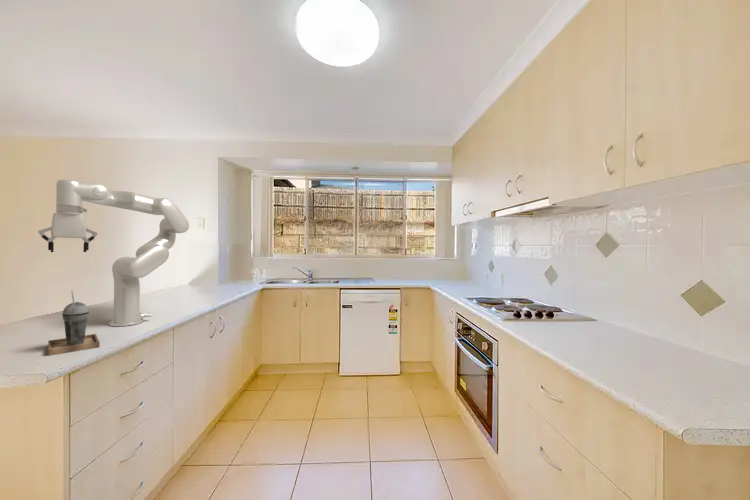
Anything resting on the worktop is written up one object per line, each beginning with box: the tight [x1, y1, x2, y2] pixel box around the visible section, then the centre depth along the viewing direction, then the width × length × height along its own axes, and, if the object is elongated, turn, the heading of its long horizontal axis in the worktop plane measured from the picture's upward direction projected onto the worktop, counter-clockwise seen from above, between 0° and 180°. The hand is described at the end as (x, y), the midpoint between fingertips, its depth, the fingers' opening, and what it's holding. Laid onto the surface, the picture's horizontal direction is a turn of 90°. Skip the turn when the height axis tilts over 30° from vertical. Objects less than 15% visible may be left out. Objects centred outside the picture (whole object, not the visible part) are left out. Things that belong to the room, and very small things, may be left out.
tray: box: [47, 333, 100, 356], centre depth 114 cm, size 13×13×2 cm
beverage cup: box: [61, 290, 90, 346], centre depth 114 cm, size 7×7×20 cm
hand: (69, 252), depth 126 cm, fingers open, 9 cm apart
